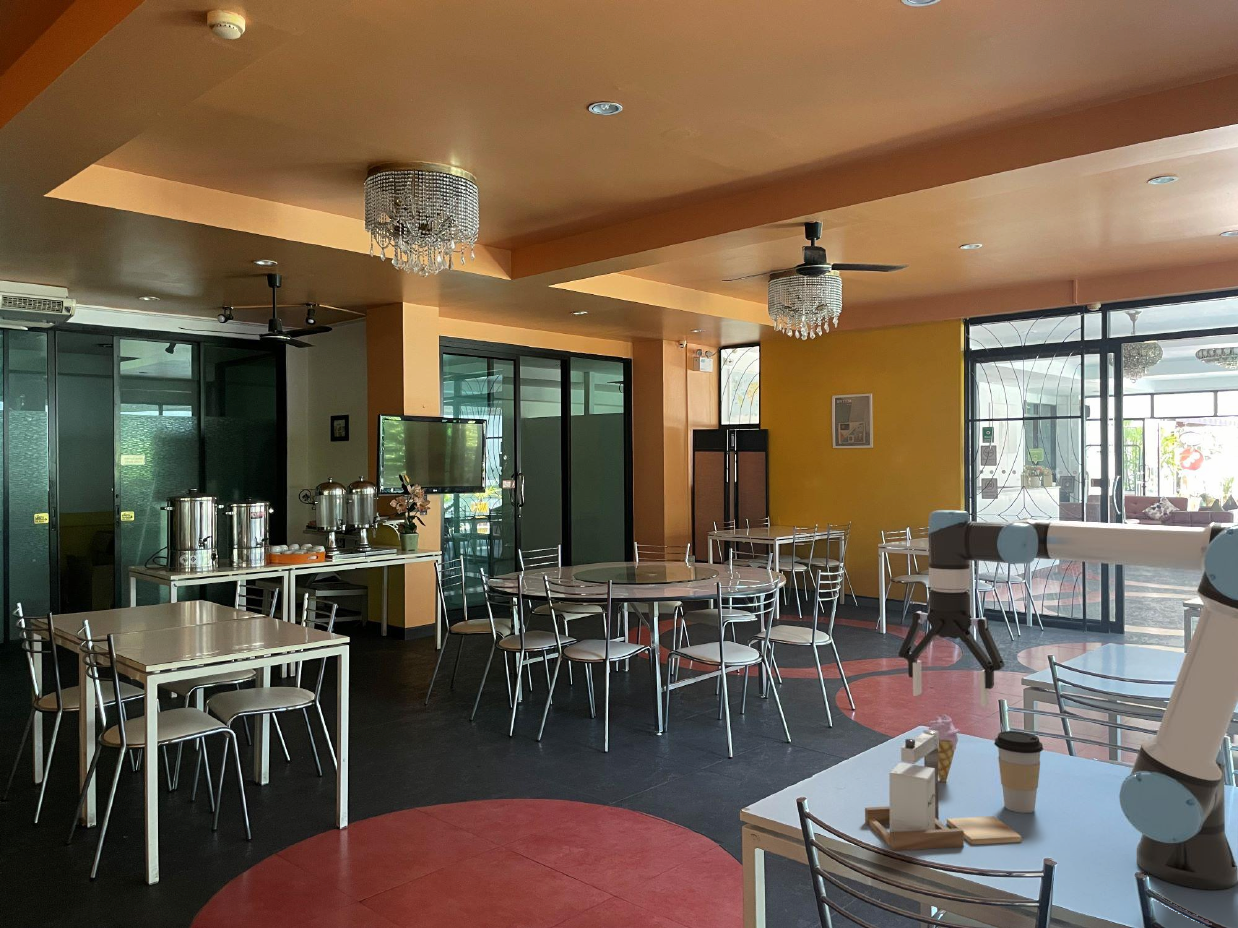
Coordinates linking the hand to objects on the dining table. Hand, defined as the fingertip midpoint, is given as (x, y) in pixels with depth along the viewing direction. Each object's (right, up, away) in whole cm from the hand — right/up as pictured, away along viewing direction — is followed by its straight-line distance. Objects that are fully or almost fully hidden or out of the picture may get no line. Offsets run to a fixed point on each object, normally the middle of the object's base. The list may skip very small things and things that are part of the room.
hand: (950, 699), depth 173 cm
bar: (-4, -12, +5) cm, 14 cm away
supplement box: (-7, -27, +1) cm, 28 cm away
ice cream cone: (+10, -27, +30) cm, 41 cm away
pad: (+7, -26, +1) cm, 27 cm away
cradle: (-6, -27, +2) cm, 27 cm away
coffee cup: (+20, -27, +14) cm, 36 cm away
